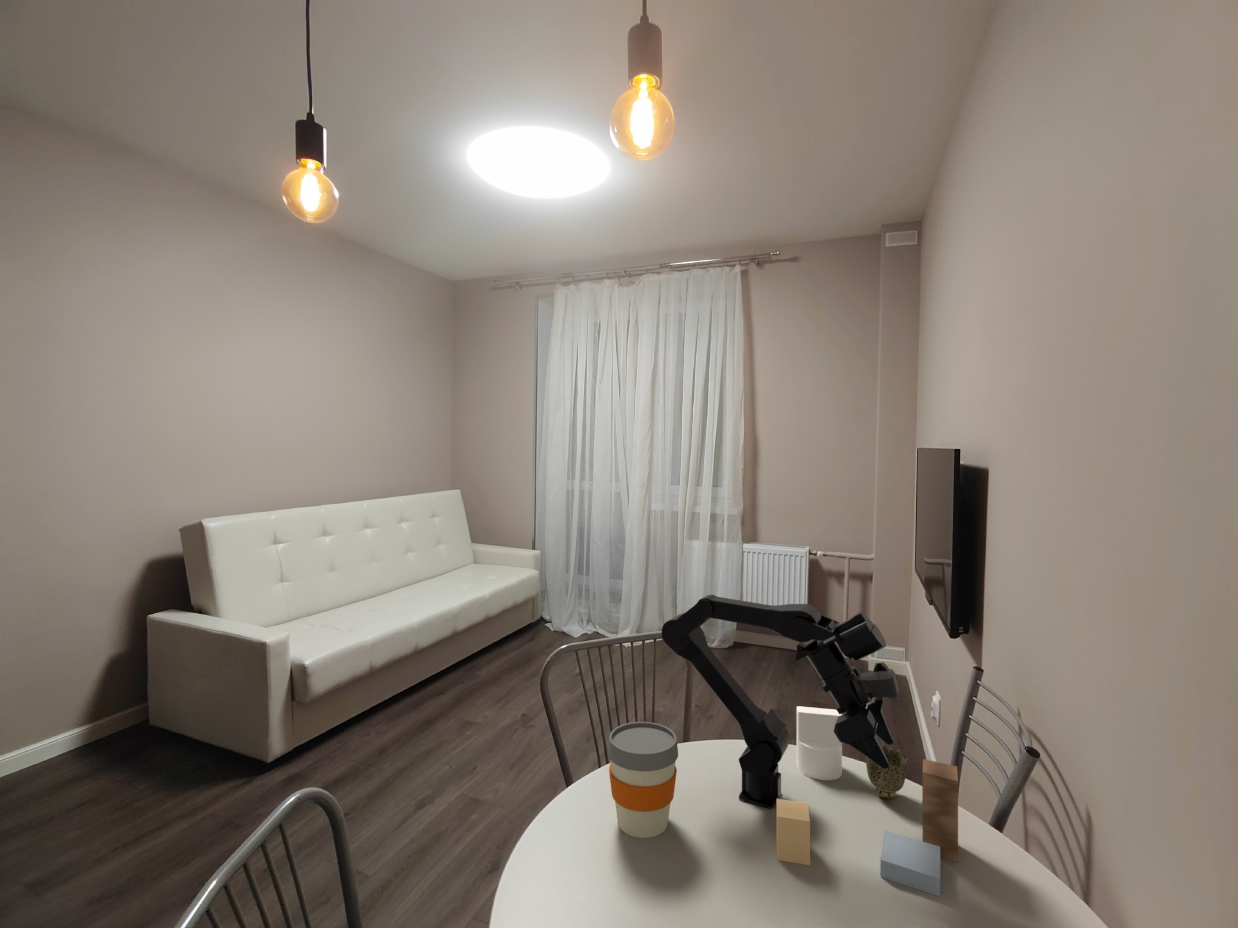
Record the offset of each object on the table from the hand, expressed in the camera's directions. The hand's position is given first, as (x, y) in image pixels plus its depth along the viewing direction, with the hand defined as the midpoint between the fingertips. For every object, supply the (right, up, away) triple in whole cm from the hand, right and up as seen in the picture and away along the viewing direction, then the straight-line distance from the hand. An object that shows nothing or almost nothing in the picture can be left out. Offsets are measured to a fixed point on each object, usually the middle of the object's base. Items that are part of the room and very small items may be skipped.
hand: (889, 755), depth 97 cm
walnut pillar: (+7, -13, -4) cm, 15 cm away
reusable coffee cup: (-42, -14, +3) cm, 45 cm away
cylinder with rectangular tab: (-5, -14, +21) cm, 25 cm away
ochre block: (-18, -13, -5) cm, 23 cm away
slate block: (-1, -14, -9) cm, 16 cm away
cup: (+5, -14, +11) cm, 18 cm away
